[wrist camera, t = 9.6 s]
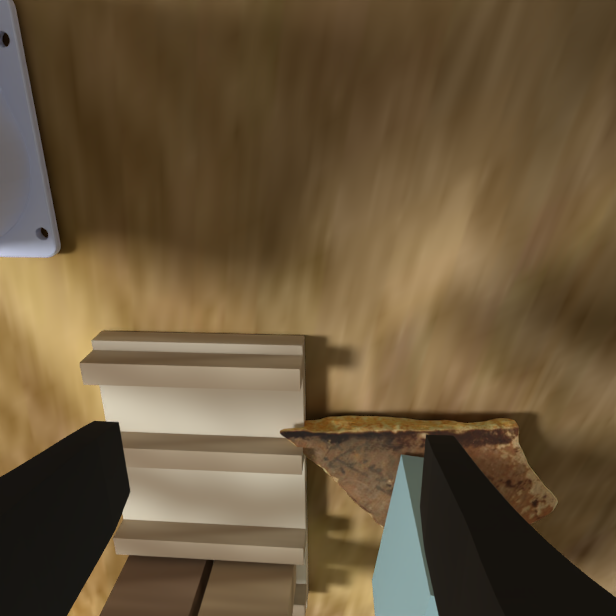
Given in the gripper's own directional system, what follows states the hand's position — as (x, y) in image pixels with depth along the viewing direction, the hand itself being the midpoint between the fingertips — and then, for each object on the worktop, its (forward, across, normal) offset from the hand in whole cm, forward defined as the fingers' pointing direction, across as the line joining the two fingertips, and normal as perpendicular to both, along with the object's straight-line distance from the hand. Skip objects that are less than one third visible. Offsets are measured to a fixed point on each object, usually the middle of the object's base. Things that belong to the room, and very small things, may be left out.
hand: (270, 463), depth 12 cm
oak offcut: (+9, +3, +13) cm, 17 cm away
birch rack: (+10, +5, +9) cm, 14 cm away
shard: (+10, -5, +9) cm, 15 cm away
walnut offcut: (+9, +7, +13) cm, 18 cm away
